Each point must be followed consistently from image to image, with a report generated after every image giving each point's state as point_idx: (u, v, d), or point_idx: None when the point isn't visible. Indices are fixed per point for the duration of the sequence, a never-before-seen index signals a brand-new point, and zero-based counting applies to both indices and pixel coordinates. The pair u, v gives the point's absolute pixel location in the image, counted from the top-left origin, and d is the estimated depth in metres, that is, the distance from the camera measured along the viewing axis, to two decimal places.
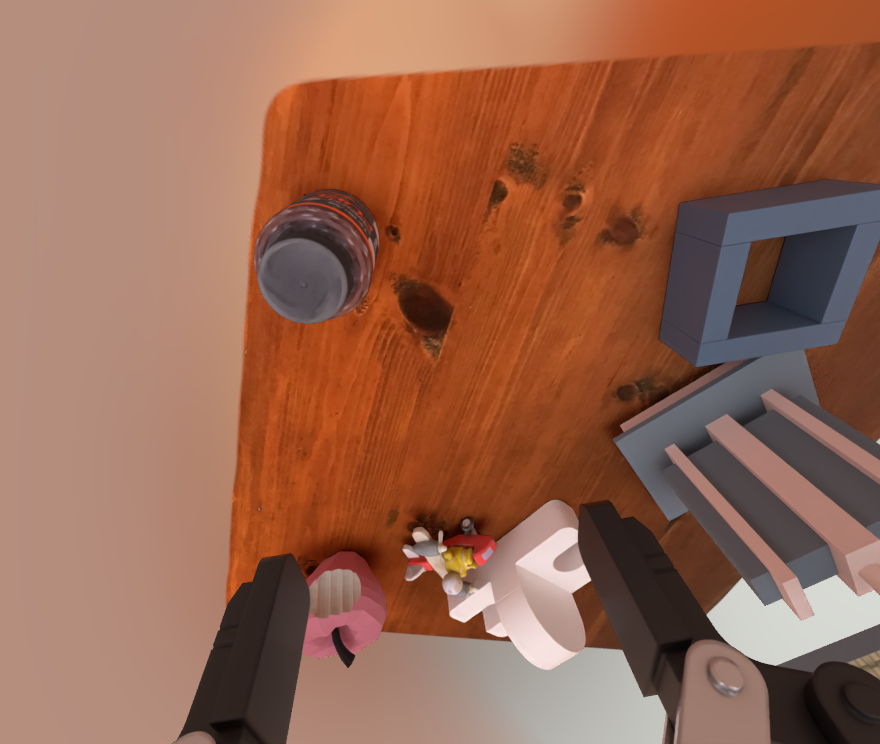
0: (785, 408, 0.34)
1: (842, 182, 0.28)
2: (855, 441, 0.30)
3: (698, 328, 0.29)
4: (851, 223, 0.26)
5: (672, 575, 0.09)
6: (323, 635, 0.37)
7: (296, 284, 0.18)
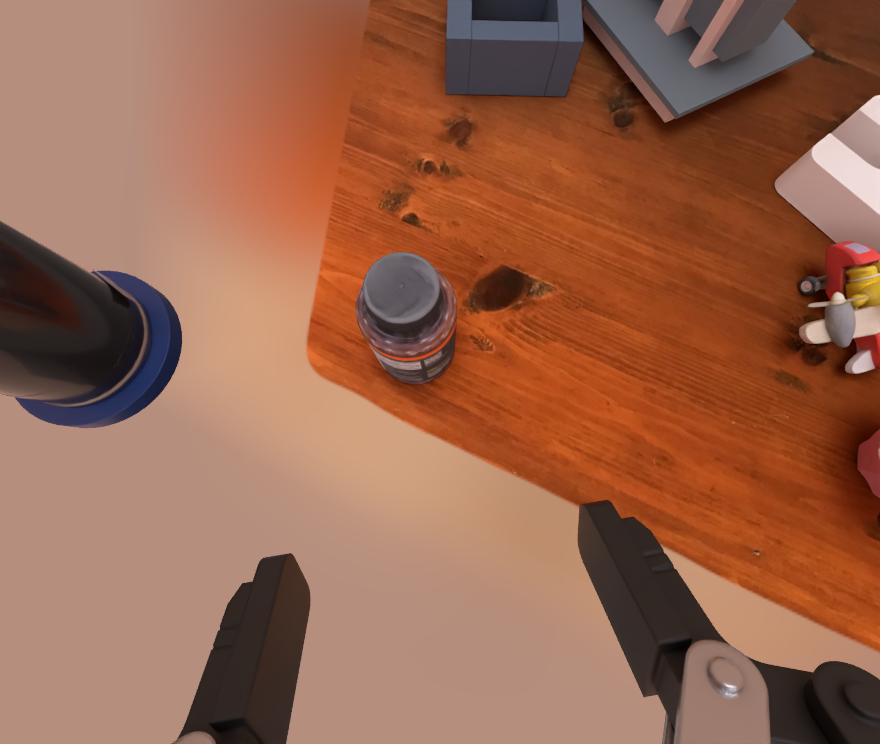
0: None
1: None
2: None
3: (544, 47, 0.33)
4: None
5: (672, 575, 0.09)
6: None
7: (400, 291, 0.21)
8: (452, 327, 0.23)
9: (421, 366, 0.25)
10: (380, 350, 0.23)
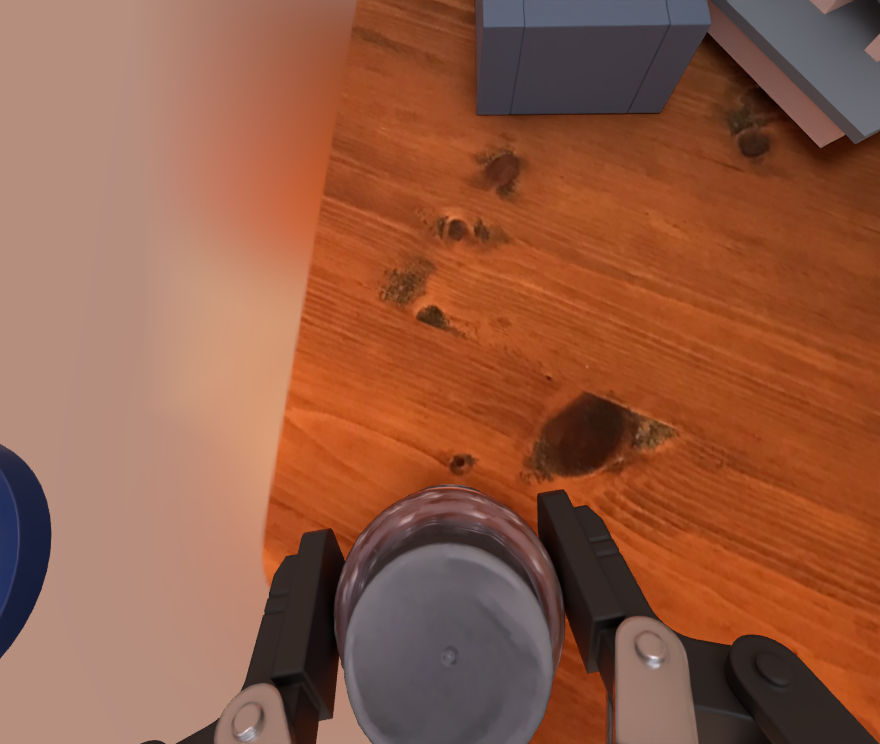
0: None
1: None
2: None
3: (644, 36, 0.20)
4: None
5: (617, 559, 0.10)
6: None
7: (447, 676, 0.07)
8: None
9: None
10: None
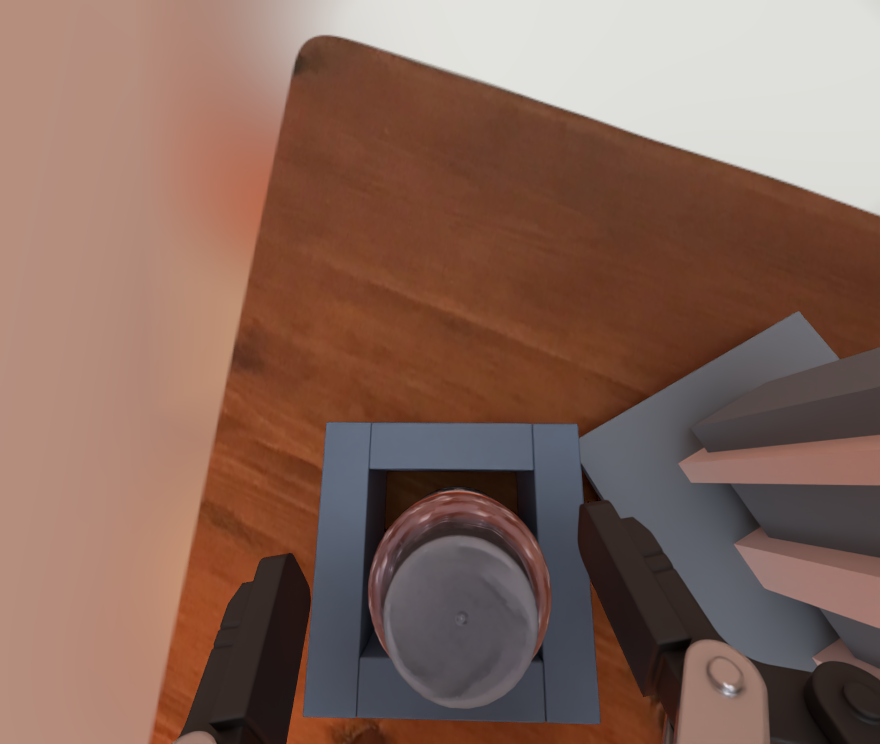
0: (718, 477, 0.17)
1: None
2: (802, 426, 0.13)
3: None
4: (364, 481, 0.17)
5: (671, 575, 0.09)
6: None
7: (460, 632, 0.10)
8: None
9: None
10: None
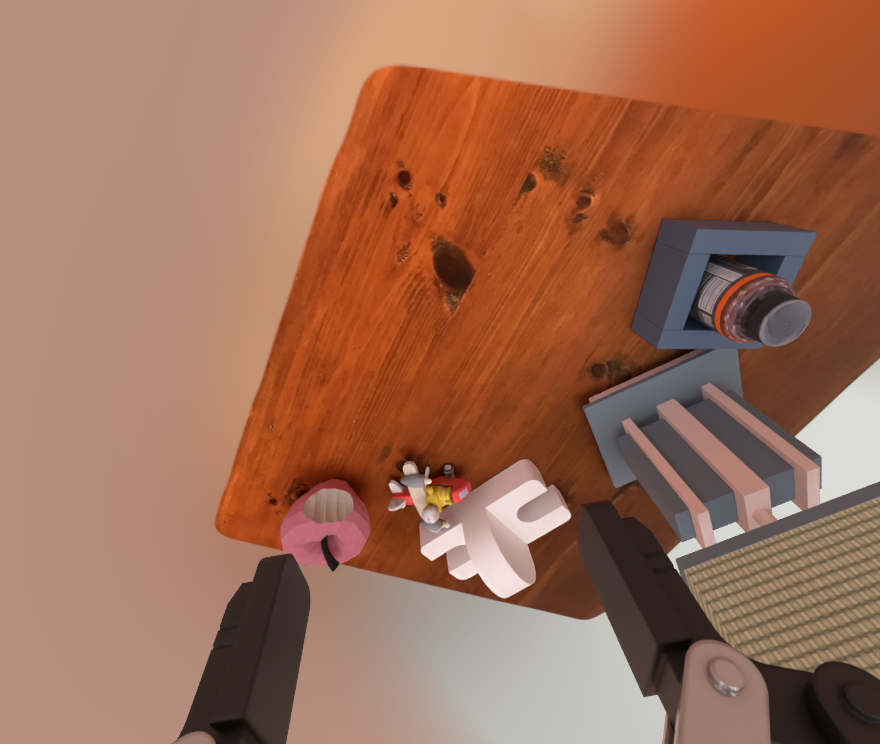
0: (718, 396, 0.43)
1: (779, 225, 0.37)
2: (764, 423, 0.39)
3: (663, 317, 0.38)
4: (781, 253, 0.35)
5: (672, 575, 0.09)
6: (316, 539, 0.42)
7: (782, 324, 0.31)
8: (732, 340, 0.35)
9: (702, 310, 0.36)
10: (733, 294, 0.33)
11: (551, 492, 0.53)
